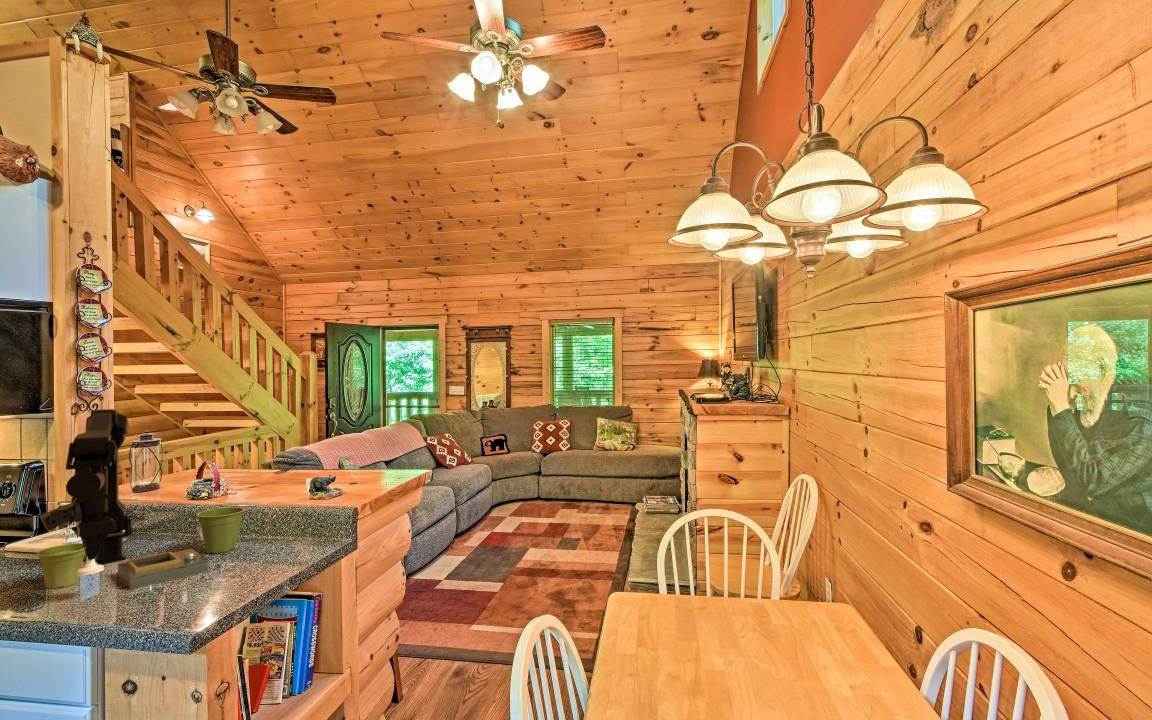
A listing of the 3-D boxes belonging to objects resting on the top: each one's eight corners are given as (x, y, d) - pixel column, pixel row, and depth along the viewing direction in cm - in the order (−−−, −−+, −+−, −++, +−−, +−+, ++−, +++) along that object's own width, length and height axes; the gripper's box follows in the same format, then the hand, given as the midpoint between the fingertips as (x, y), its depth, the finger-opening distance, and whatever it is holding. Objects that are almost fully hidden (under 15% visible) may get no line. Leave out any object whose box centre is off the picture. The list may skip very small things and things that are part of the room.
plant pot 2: (253, 547, 163) (253, 509, 164) (211, 559, 153) (211, 518, 153) (229, 541, 169) (229, 504, 169) (187, 553, 158) (187, 513, 159)
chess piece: (80, 576, 124) (81, 532, 124) (72, 572, 127) (73, 529, 127) (107, 570, 128) (108, 527, 129) (99, 566, 131) (100, 524, 131)
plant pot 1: (98, 577, 139) (99, 543, 140) (60, 592, 130) (60, 555, 130) (65, 576, 140) (65, 542, 140) (24, 591, 131) (25, 554, 131)
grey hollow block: (117, 575, 141) (117, 557, 141) (191, 559, 153) (191, 542, 153) (130, 589, 132) (130, 570, 132) (207, 571, 144) (207, 553, 144)
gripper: (38, 490, 128) (37, 558, 128) (49, 503, 116) (47, 578, 115) (100, 483, 136) (100, 546, 136) (117, 494, 124) (116, 563, 124)
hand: (90, 558), depth 128 cm, fingers closed on chess piece
